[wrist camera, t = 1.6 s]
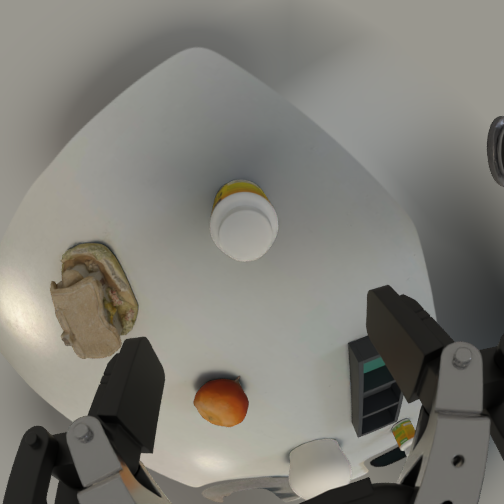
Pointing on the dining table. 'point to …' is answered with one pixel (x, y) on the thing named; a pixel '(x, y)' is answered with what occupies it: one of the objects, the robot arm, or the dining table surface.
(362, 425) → the rack
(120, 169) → the dining table surface
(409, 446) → the supplement bottle
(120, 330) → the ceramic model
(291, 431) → the dining table surface
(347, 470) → the vase
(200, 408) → the fruit
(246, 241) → the supplement bottle
